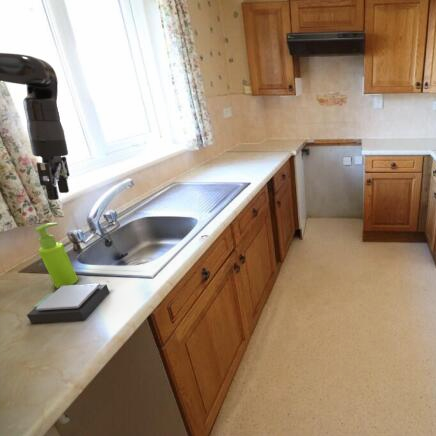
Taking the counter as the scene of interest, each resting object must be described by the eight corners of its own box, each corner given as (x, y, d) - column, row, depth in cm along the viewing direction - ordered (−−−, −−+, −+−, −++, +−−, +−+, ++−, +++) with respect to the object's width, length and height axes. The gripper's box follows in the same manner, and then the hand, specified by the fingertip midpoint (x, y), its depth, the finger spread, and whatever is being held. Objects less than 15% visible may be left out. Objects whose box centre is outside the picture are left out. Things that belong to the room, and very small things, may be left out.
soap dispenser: (85, 277, 105) (61, 222, 96) (62, 290, 99) (34, 232, 91) (74, 274, 107) (50, 219, 99) (51, 285, 102) (23, 229, 93)
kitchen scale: (29, 323, 86) (23, 311, 84) (61, 295, 97) (56, 284, 95) (84, 320, 86) (78, 308, 85) (109, 292, 97) (105, 281, 96)
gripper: (40, 135, 92) (52, 191, 97) (17, 139, 80) (31, 202, 84) (72, 136, 95) (82, 190, 100) (55, 140, 82) (67, 201, 87)
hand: (59, 196), depth 92 cm, fingers open, 8 cm apart
